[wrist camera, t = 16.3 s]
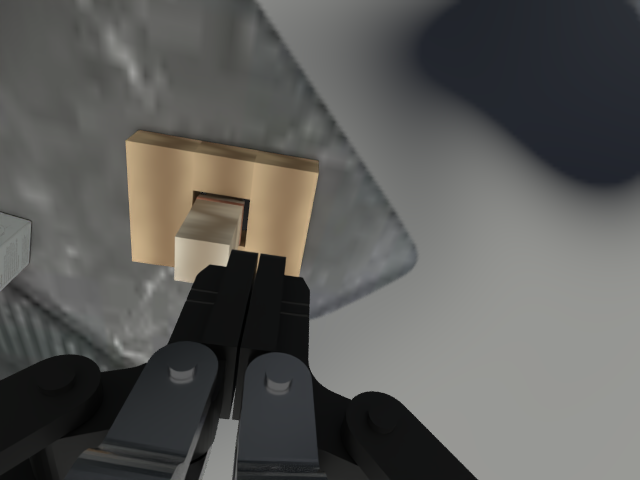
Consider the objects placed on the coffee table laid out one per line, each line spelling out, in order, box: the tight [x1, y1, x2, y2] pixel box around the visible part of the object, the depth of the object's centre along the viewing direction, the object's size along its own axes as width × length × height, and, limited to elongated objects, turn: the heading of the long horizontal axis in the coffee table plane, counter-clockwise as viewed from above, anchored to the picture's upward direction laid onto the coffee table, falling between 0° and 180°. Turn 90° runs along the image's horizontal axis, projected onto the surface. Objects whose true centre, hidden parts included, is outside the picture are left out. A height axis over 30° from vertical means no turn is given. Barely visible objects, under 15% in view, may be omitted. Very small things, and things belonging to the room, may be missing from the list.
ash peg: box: [175, 193, 245, 283], centre depth 36 cm, size 4×4×10 cm
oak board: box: [126, 130, 319, 277], centre depth 39 cm, size 16×12×3 cm
